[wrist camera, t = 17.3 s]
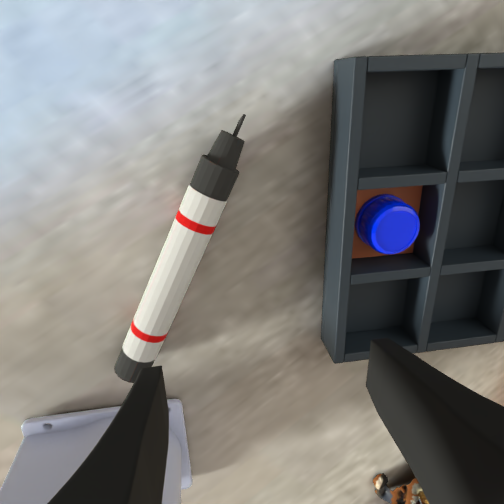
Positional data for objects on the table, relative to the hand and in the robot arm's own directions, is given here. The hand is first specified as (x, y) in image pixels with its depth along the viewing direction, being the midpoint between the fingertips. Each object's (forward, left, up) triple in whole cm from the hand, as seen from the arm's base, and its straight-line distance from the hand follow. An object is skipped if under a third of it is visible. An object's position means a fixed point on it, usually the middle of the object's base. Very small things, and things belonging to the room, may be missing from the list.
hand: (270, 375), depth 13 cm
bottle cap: (+8, +2, -9) cm, 12 cm away
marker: (-3, +1, -10) cm, 10 cm away
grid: (+13, +2, -9) cm, 16 cm away
